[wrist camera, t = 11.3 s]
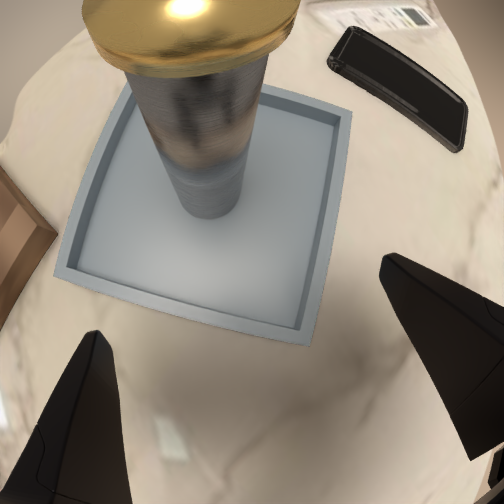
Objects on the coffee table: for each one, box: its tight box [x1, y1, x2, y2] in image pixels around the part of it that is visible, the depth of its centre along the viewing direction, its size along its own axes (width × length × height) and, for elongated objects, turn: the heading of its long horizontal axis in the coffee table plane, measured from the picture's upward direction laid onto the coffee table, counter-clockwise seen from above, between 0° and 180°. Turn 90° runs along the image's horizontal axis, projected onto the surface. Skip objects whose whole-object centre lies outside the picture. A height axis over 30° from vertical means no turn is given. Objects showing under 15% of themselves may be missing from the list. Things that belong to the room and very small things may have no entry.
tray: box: [53, 81, 352, 347], centre depth 19 cm, size 16×16×2 cm
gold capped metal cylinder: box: [82, 0, 301, 220], centre depth 12 cm, size 5×5×15 cm
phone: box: [327, 26, 468, 153], centre depth 23 cm, size 8×1×15 cm
